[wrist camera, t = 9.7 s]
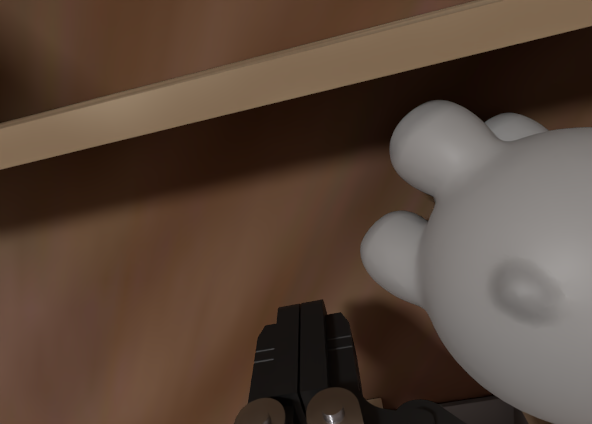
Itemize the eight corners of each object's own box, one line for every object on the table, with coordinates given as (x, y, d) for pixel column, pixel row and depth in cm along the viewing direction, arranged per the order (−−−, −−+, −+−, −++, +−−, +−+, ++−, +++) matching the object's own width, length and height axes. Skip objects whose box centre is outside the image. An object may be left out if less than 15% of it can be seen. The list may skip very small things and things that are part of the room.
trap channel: (-127, 155, 15) (-322, 214, 10) (879, -104, 11) (1283, -193, 6) (135, 531, 24) (96, 648, 20) (715, 458, 21) (830, 580, 16)
